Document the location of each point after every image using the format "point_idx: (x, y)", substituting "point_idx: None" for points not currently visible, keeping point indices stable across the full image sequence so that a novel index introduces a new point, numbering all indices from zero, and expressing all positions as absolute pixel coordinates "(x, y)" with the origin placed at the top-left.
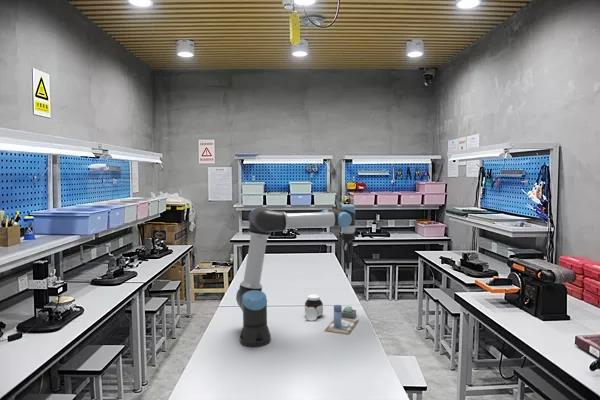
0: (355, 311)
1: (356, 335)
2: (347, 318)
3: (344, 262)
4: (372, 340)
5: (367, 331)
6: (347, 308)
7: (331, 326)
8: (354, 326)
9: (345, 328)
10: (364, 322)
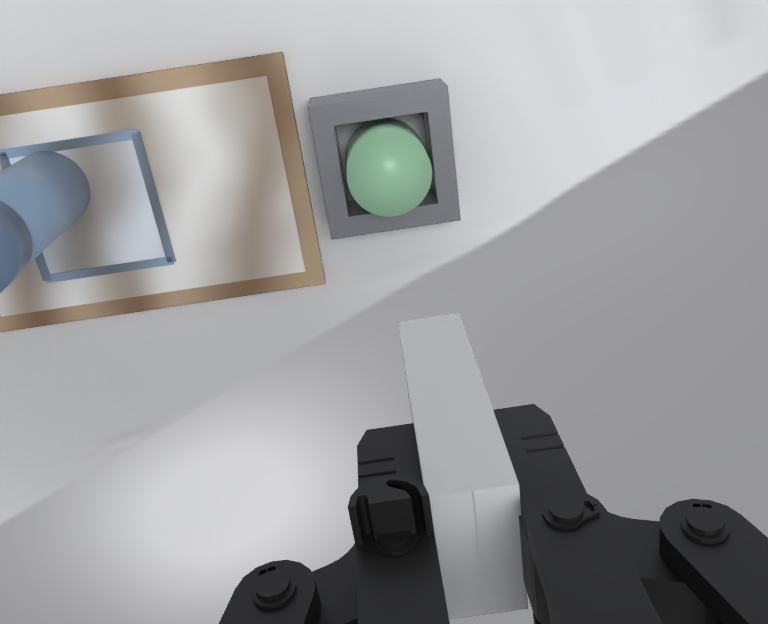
0: (431, 222)
1: (23, 382)
2: (302, 179)
3: (354, 504)
4: (23, 500)
5: (150, 420)
6: (358, 176)
7: (17, 132)
8: (172, 304)
9: (60, 268)
10: (315, 335)
